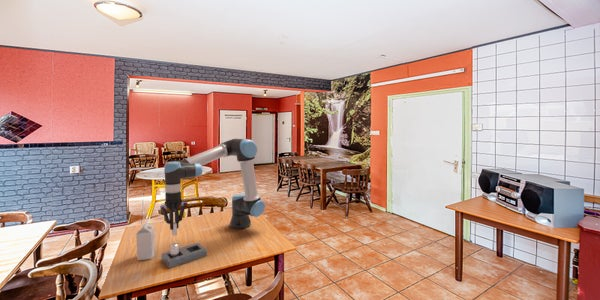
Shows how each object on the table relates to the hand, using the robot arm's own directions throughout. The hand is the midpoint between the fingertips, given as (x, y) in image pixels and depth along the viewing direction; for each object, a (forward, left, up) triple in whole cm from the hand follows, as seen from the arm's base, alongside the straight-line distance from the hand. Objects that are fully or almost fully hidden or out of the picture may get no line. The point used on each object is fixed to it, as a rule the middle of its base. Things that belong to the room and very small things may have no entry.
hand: (174, 234), depth 141 cm
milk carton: (+10, -15, -15) cm, 23 cm away
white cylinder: (0, 0, -14) cm, 14 cm away
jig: (-5, 0, -14) cm, 15 cm away
